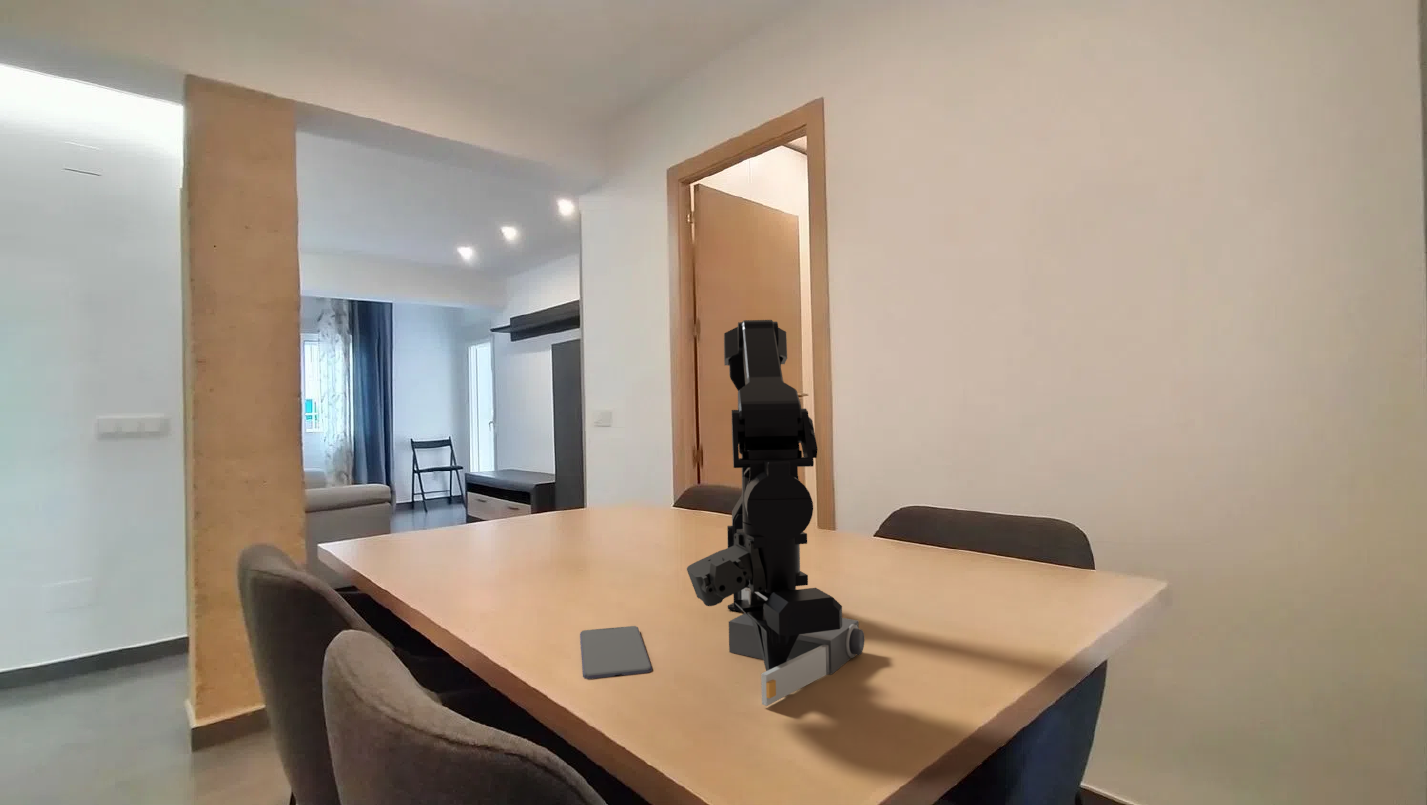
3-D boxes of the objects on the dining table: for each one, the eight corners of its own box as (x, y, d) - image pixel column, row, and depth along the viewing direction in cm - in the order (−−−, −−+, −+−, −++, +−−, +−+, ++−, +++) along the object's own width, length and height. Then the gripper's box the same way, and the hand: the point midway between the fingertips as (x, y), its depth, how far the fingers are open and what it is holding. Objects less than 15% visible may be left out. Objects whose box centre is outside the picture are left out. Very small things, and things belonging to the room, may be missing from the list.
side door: (769, 707, 61) (768, 676, 61) (761, 703, 62) (760, 673, 62) (832, 673, 69) (831, 646, 69) (824, 671, 69) (823, 643, 69)
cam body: (728, 652, 76) (728, 617, 76) (762, 632, 83) (761, 600, 83) (840, 676, 69) (838, 637, 69) (867, 653, 75) (866, 617, 75)
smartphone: (582, 675, 69) (579, 629, 84) (582, 684, 69) (579, 637, 84) (653, 668, 71) (638, 624, 85) (653, 677, 71) (638, 631, 85)
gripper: (671, 513, 72) (673, 654, 72) (725, 545, 54) (728, 732, 54) (764, 507, 75) (766, 641, 75) (843, 535, 58) (847, 711, 57)
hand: (773, 676), depth 65 cm, fingers closed
